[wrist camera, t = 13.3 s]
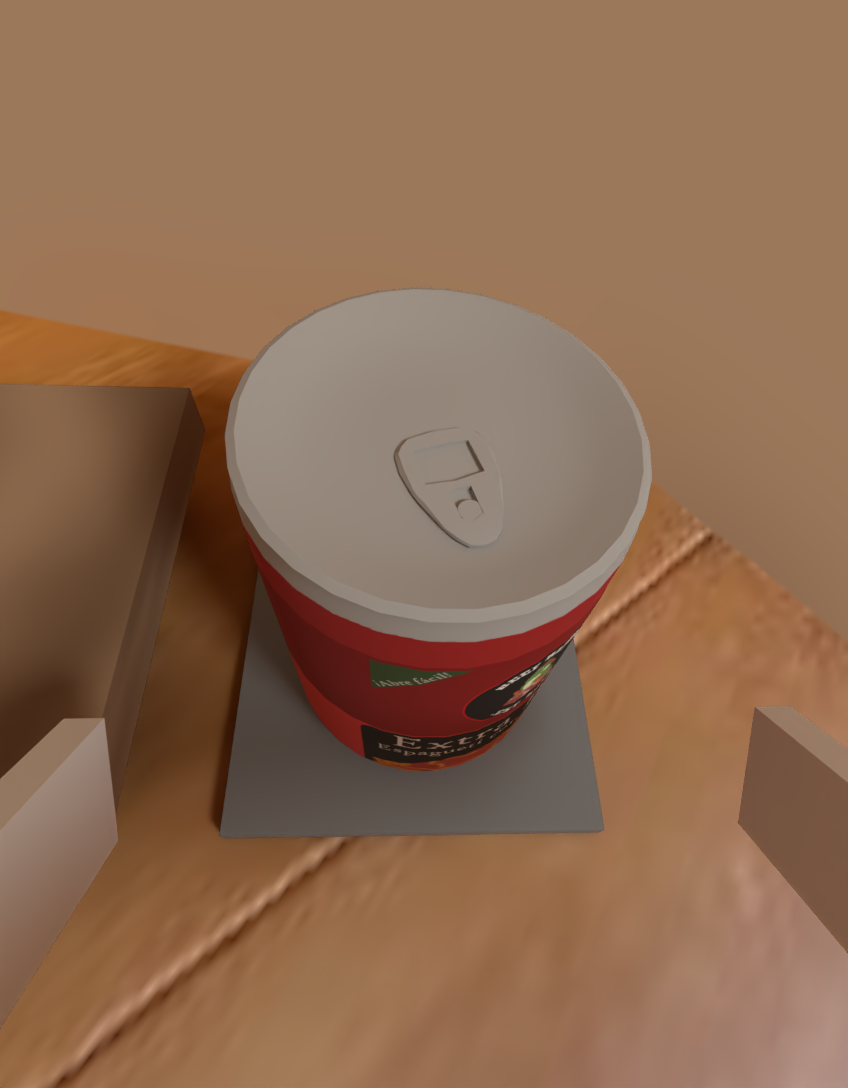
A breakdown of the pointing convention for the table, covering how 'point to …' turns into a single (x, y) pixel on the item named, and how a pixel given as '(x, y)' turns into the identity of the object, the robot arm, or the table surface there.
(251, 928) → the table surface
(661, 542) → the table surface
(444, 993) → the table surface
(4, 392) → the walnut slab
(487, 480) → the canned food
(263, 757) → the rubber mat
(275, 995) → the table surface
